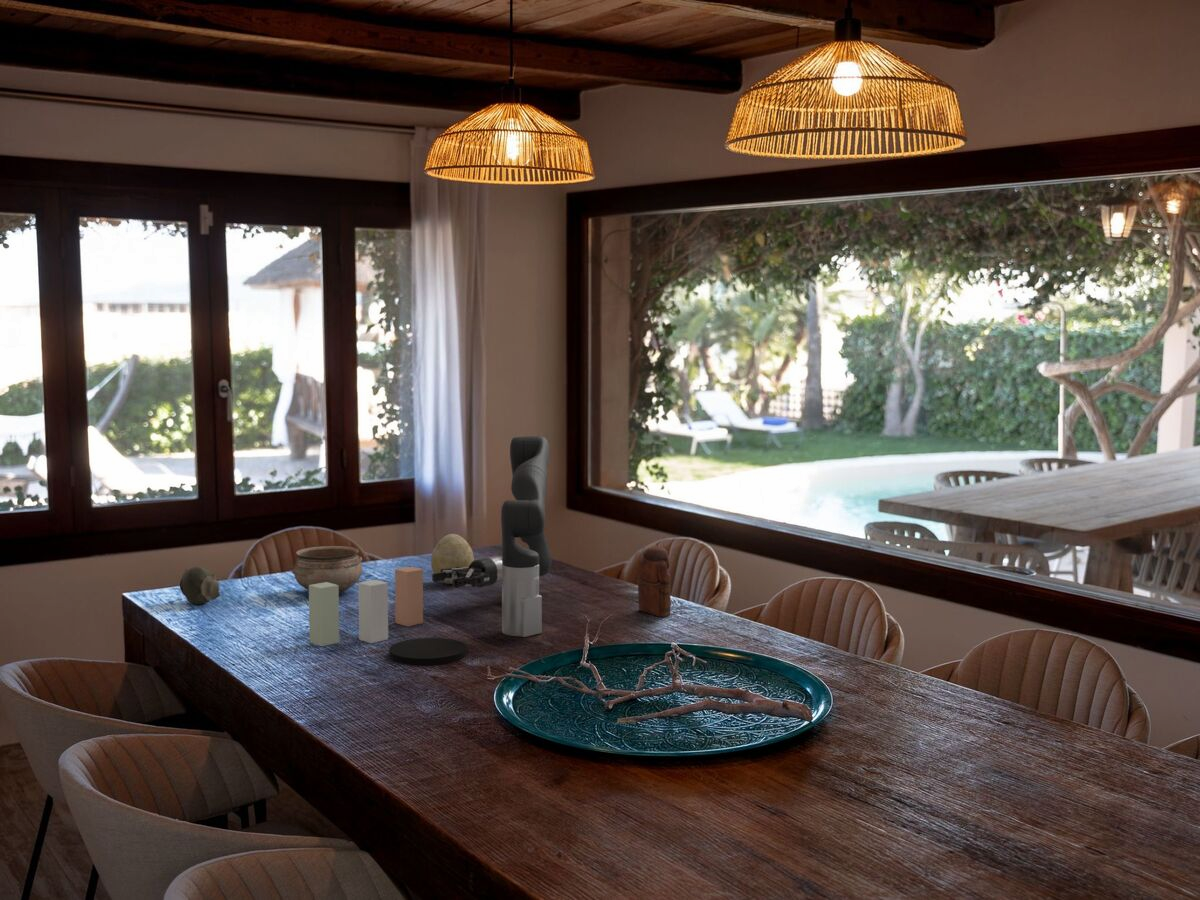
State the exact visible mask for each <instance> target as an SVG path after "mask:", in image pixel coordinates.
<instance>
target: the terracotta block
mask: <svg viewBox="0 0 1200 900" xmlns="http://www.w3.org/2000/svg"><path fill="white" fill-rule="evenodd" d="M423 577H424V570H423V569H422V568H418V567H413V566H407V567H406V566H405V567H402V568H400V567H399V568H395V569H394V589H395V590H394V595H395V596H394V599H395V601H394V602H395V606H394V608H395V613H394V614H395V617H394V618H395V619H394V620H395V624H398V625H401V626H405V627H411V626H415V625H420V624H423V623H424V588H423V587H424V578H423Z"/></svg>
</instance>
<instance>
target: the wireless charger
mask: <svg viewBox="0 0 1200 900" xmlns="http://www.w3.org/2000/svg"><path fill="white" fill-rule="evenodd" d="M388 649H389V650H388V655H389V656H388V657H389V659H390V660H391V661H392V662H395V663H397V664H402V665H407V666H415V667H416V666H418V667H423V666H424V667H428V666H429V667H430V666H431V667H432V666H440V665H441V666H442V665H448V664H453V663H456V662H459V661H462V660H463V659H464V658H466V656H467V655H468V647H467V644H466V643H464V642H463V641H460V640H456V639H452V638H445V637H420V638H412V639H407V640H402V641H399V642H396V643H394V644H392V645H390V647H389V648H388Z"/></svg>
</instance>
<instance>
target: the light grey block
mask: <svg viewBox="0 0 1200 900" xmlns="http://www.w3.org/2000/svg"><path fill="white" fill-rule="evenodd" d="M357 583H358V587H357V588H358V640H360V641H363V642H367V643H369V644H374V643H378V642H382V641H387V640H389V596H388V595H389V588H388V587H389V582H385V581H382V580H378V579H371V580H366V581H362V582H361V581H360V582H357Z"/></svg>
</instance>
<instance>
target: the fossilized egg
mask: <svg viewBox="0 0 1200 900" xmlns="http://www.w3.org/2000/svg"><path fill="white" fill-rule="evenodd" d="M430 558H431V559H430V564H431V565H430V566H431V569H432V571H433V574H434V573H439V572H440V569H445V568H451V567H456V566H458V567H459V568H462V567H469V566H470V564H471V563H472V562H473V561H474V560H475V557H474V552H473V550H472V548H471V545H470V544H469V543H468V542H467V540H466V539H464V537H463V536H460V535H459V534H456V533H448V534H447V535H445V536H443V537H442V538H441V539H439V541H438V542H437V543H436V545H435V546H434V548H433V550H432V552H431V557H430ZM454 578H457V577H454ZM441 582H442V583H444V584H448V585H453V581H452V580H443V581H441Z"/></svg>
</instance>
